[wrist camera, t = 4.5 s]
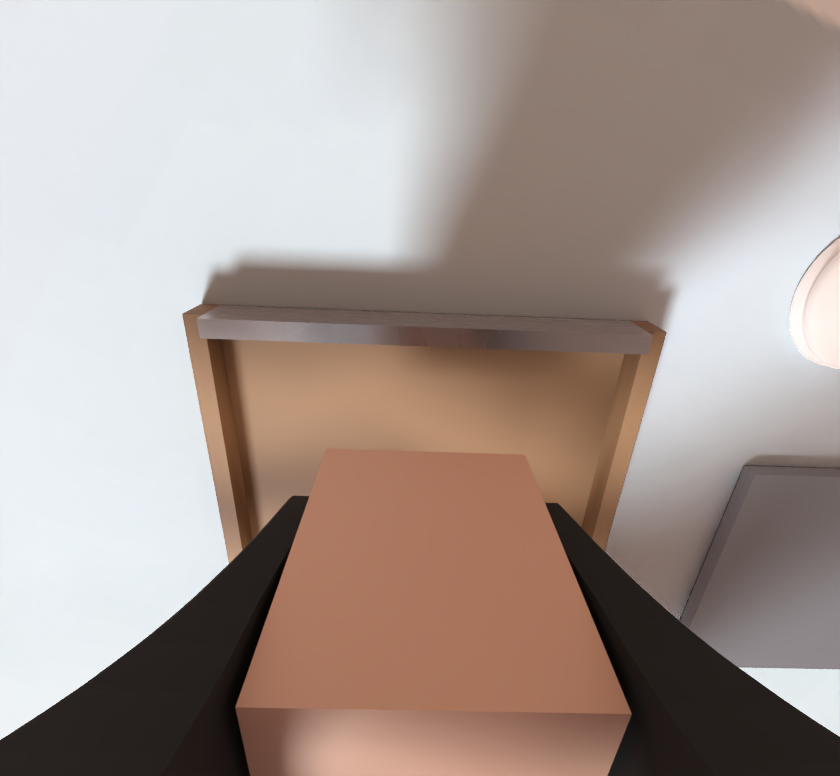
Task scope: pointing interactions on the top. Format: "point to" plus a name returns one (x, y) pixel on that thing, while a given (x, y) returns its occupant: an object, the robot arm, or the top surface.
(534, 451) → the wooden serving tray
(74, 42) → the top surface
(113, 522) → the top surface
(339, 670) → the salmon pink box
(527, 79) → the top surface
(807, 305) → the chess piece
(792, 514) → the mat
